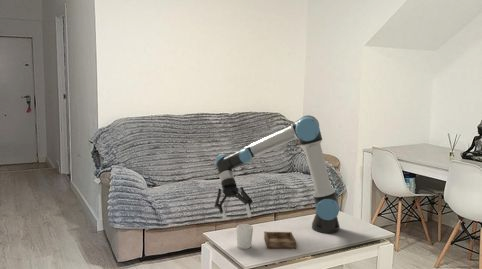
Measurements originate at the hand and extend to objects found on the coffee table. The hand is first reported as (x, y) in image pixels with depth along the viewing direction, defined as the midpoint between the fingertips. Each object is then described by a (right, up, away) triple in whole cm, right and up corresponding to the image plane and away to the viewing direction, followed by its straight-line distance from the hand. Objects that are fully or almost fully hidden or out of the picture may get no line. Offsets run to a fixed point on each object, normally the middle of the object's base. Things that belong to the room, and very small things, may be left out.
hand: (237, 217), depth 217 cm
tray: (+21, -13, 0) cm, 25 cm away
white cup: (+3, -13, -5) cm, 15 cm away
